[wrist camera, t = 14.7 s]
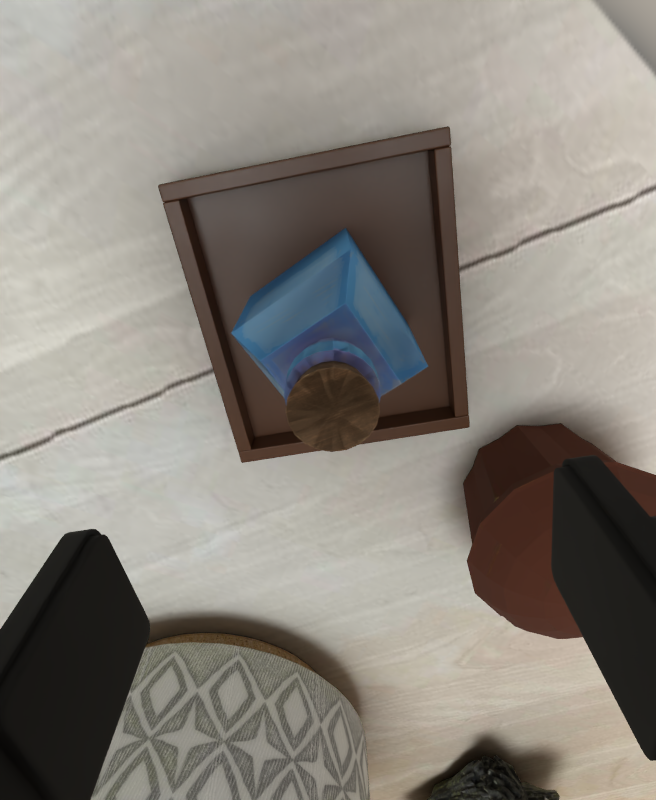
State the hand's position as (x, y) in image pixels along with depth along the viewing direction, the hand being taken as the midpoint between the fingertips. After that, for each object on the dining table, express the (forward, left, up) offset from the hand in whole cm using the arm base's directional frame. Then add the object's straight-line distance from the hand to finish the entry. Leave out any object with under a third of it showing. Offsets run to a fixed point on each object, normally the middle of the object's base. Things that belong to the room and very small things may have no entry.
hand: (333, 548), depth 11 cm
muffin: (+14, +11, -20) cm, 27 cm away
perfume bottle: (0, 0, -19) cm, 19 cm away
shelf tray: (0, 0, -20) cm, 20 cm away
